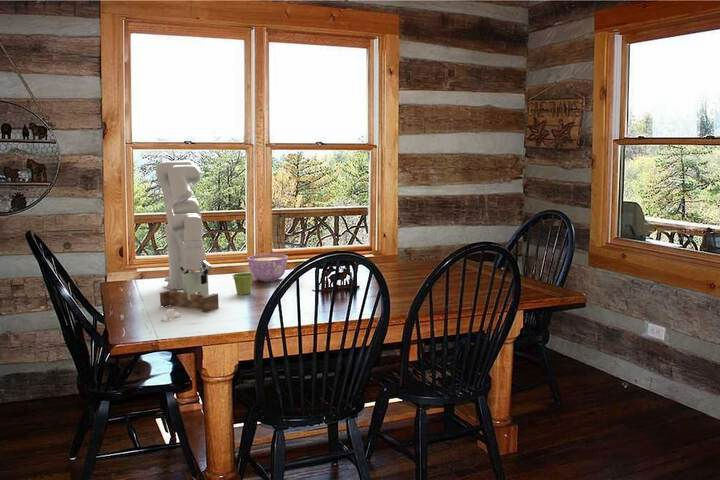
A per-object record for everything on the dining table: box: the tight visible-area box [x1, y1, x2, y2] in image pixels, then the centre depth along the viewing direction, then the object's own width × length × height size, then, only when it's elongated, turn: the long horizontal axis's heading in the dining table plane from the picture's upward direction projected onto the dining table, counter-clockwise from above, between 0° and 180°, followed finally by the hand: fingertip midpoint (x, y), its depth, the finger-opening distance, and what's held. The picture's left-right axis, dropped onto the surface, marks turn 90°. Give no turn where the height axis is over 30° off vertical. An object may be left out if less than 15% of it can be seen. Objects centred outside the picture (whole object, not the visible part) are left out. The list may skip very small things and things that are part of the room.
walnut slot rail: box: [159, 289, 220, 313], centre depth 288 cm, size 24×8×6 cm, turn 63°
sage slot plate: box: [182, 270, 210, 300], centre depth 304 cm, size 2×14×12 cm, turn 153°
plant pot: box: [232, 272, 254, 296], centre depth 313 cm, size 9×9×9 cm
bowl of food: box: [247, 253, 289, 283], centre depth 343 cm, size 20×20×12 cm
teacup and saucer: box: [165, 308, 180, 320], centre depth 270 cm, size 9×8×4 cm
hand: (195, 282), depth 304 cm, fingers open, 8 cm apart
